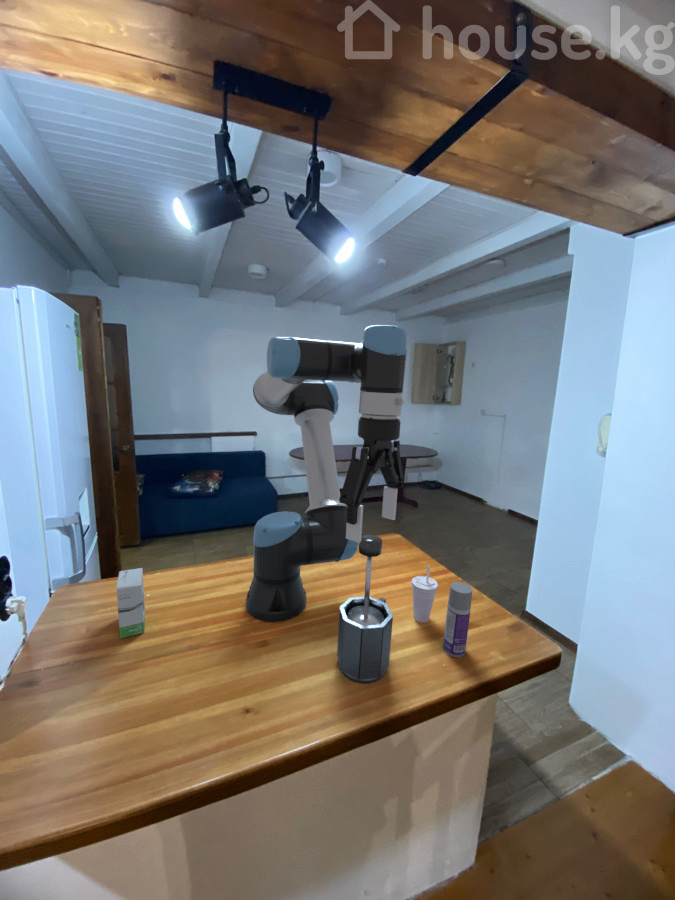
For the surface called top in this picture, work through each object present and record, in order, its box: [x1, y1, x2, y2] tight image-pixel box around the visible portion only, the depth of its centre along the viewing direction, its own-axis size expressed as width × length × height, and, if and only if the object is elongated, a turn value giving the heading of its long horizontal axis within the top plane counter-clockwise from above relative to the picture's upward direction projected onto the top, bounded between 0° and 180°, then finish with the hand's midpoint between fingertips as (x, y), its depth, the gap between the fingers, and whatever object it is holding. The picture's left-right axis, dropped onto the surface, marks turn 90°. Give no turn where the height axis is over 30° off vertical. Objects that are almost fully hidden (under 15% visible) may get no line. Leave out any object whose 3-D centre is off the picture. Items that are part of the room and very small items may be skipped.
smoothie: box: [410, 565, 439, 624], centre depth 89 cm, size 6×6×14 cm
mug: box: [336, 596, 394, 685], centre depth 75 cm, size 10×13×12 cm
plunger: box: [348, 534, 384, 626], centre depth 72 cm, size 7×7×17 cm
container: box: [442, 581, 473, 658], centre depth 79 cm, size 5×5×15 cm
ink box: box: [115, 567, 146, 639], centre depth 82 cm, size 9×5×12 cm, turn 27°
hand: (372, 528), depth 69 cm, fingers open, 13 cm apart
